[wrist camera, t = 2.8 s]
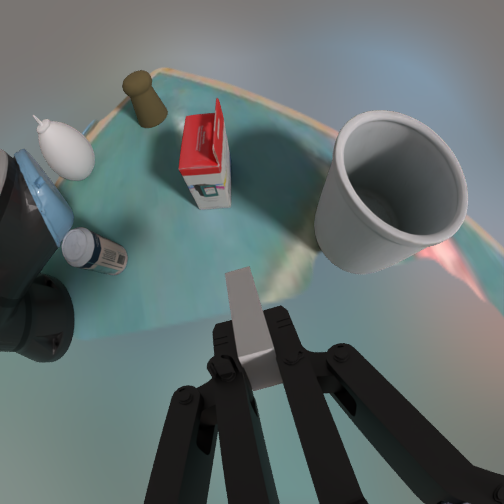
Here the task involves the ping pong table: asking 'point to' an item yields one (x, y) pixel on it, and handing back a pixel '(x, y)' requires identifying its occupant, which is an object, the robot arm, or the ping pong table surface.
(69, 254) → the beer can
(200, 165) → the ink box
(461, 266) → the ping pong table surface
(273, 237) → the ping pong table surface
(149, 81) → the cork
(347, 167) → the utensil holder
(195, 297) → the ping pong table surface
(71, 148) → the air blower bulb
